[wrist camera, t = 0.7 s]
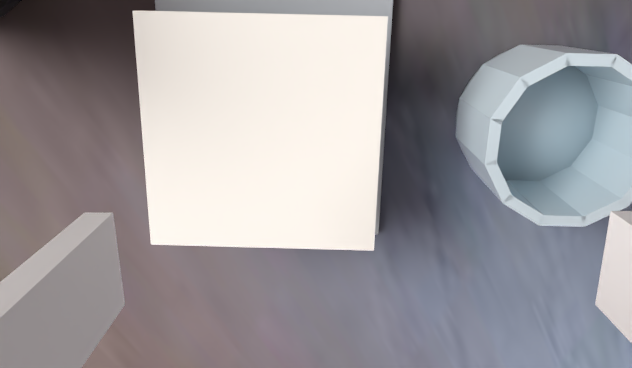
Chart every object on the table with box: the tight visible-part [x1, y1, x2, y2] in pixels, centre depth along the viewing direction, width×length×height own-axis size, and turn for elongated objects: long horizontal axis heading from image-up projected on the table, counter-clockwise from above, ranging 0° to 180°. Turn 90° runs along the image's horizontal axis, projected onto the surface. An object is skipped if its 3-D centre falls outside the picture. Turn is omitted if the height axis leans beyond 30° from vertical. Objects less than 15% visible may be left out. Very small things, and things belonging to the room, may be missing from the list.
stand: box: [155, 0, 393, 234], centre depth 31 cm, size 16×14×6 cm
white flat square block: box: [132, 11, 388, 251], centre depth 28 cm, size 12×12×2 cm
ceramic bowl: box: [455, 45, 632, 227], centre depth 31 cm, size 9×9×7 cm
